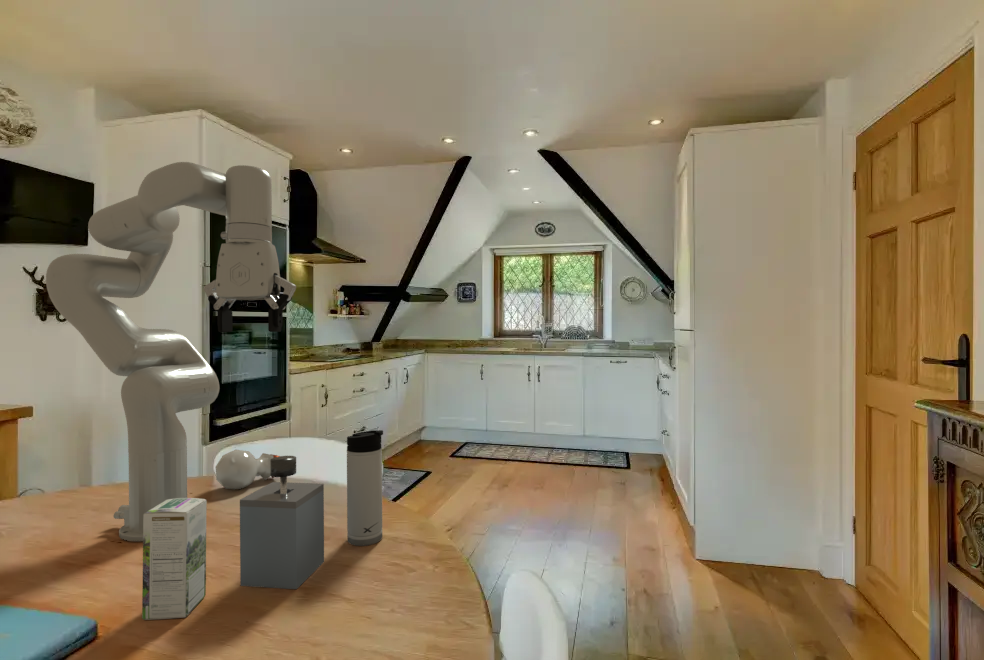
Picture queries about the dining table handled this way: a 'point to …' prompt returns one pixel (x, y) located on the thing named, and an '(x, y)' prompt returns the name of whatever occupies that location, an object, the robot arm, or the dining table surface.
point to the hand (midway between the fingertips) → (250, 331)
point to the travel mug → (364, 488)
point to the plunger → (283, 470)
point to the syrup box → (174, 558)
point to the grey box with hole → (281, 535)
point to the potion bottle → (242, 468)
